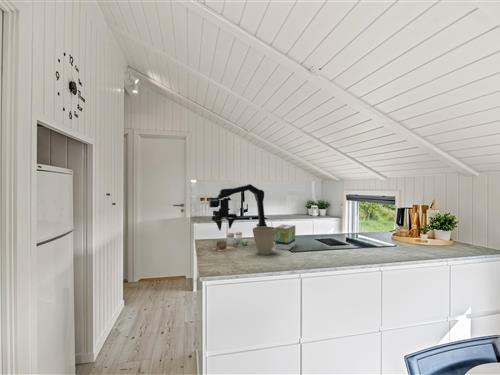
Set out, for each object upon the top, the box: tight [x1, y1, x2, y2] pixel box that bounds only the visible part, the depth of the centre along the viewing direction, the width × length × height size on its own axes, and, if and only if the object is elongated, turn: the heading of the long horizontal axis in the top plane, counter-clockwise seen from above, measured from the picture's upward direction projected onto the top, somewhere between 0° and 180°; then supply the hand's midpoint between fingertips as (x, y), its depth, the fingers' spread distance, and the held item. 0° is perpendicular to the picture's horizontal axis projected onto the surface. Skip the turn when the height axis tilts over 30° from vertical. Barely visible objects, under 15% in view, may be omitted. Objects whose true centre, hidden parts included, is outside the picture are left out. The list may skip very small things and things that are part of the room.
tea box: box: [274, 224, 296, 251], centre depth 197 cm, size 15×10×15 cm, turn 154°
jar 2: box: [235, 231, 243, 245], centre depth 209 cm, size 5×5×8 cm
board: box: [211, 245, 236, 253], centre depth 193 cm, size 10×12×1 cm
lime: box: [241, 238, 249, 246], centre depth 204 cm, size 4×4×4 cm
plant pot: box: [252, 226, 276, 256], centre depth 181 cm, size 15×15×16 cm
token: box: [216, 240, 227, 250], centre depth 190 cm, size 4×4×5 cm
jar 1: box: [226, 234, 235, 247], centre depth 201 cm, size 5×5×8 cm
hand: (224, 229), depth 197 cm, fingers open, 9 cm apart
